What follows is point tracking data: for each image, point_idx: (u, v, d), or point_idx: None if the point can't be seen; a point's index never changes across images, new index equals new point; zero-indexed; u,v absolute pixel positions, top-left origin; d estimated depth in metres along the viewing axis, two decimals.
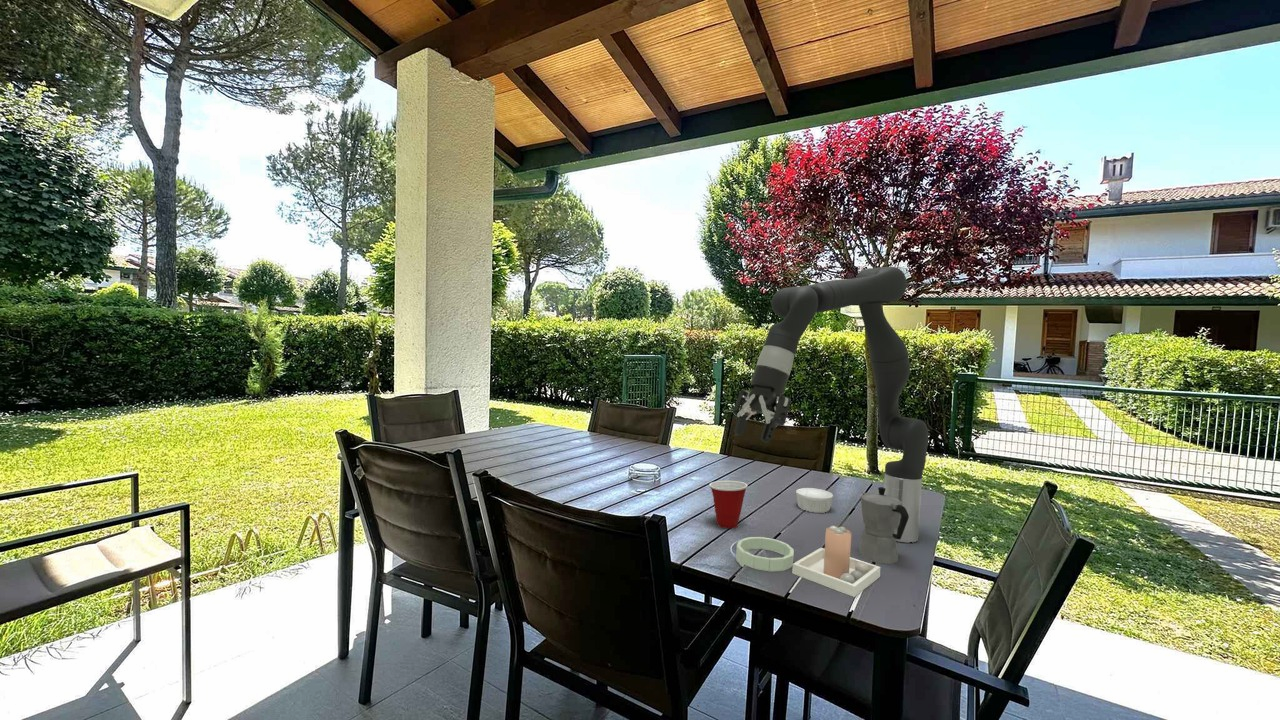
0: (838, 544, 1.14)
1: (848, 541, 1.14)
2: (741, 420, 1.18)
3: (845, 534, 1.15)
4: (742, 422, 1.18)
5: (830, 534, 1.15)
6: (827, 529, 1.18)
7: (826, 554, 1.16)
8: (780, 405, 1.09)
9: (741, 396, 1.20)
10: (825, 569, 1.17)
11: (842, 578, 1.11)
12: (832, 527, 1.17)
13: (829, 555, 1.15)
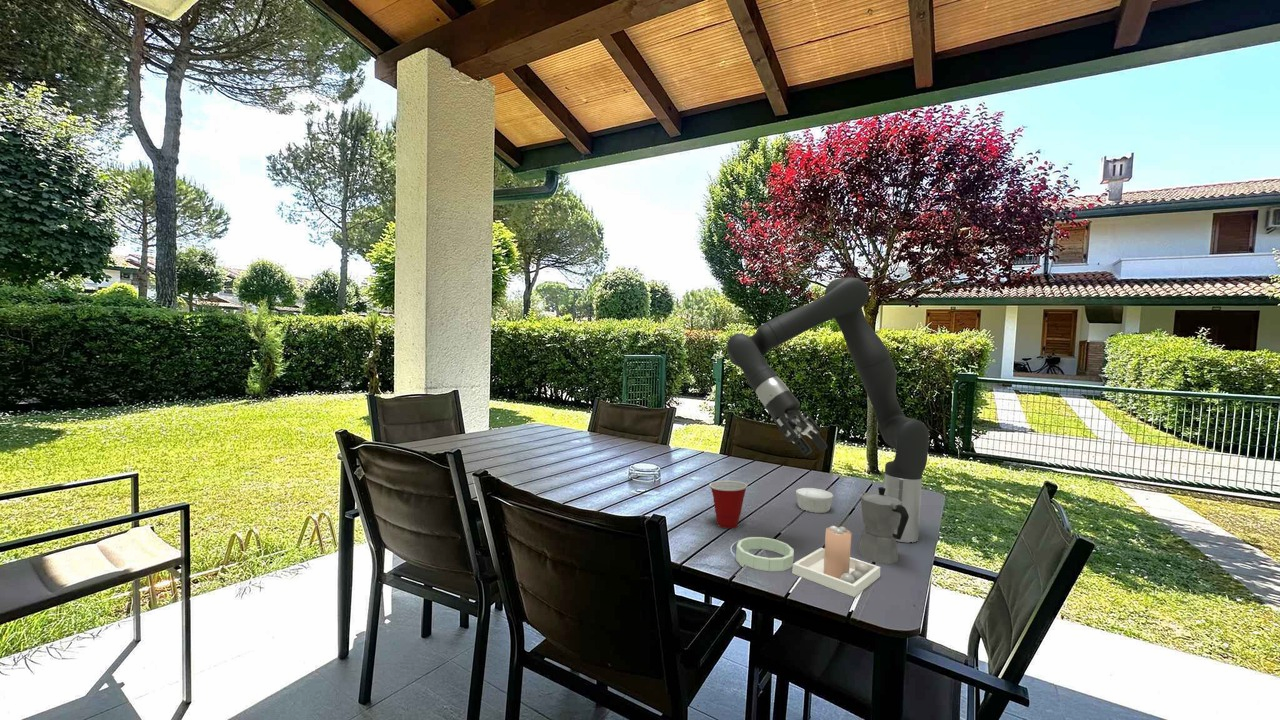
0: (838, 544, 1.14)
1: (848, 541, 1.14)
2: (813, 439, 1.30)
3: (845, 534, 1.15)
4: (816, 440, 1.30)
5: (830, 534, 1.15)
6: (827, 529, 1.18)
7: (826, 554, 1.16)
8: (779, 429, 1.25)
9: None
10: (825, 569, 1.17)
11: (842, 578, 1.11)
12: (832, 527, 1.17)
13: (829, 555, 1.15)
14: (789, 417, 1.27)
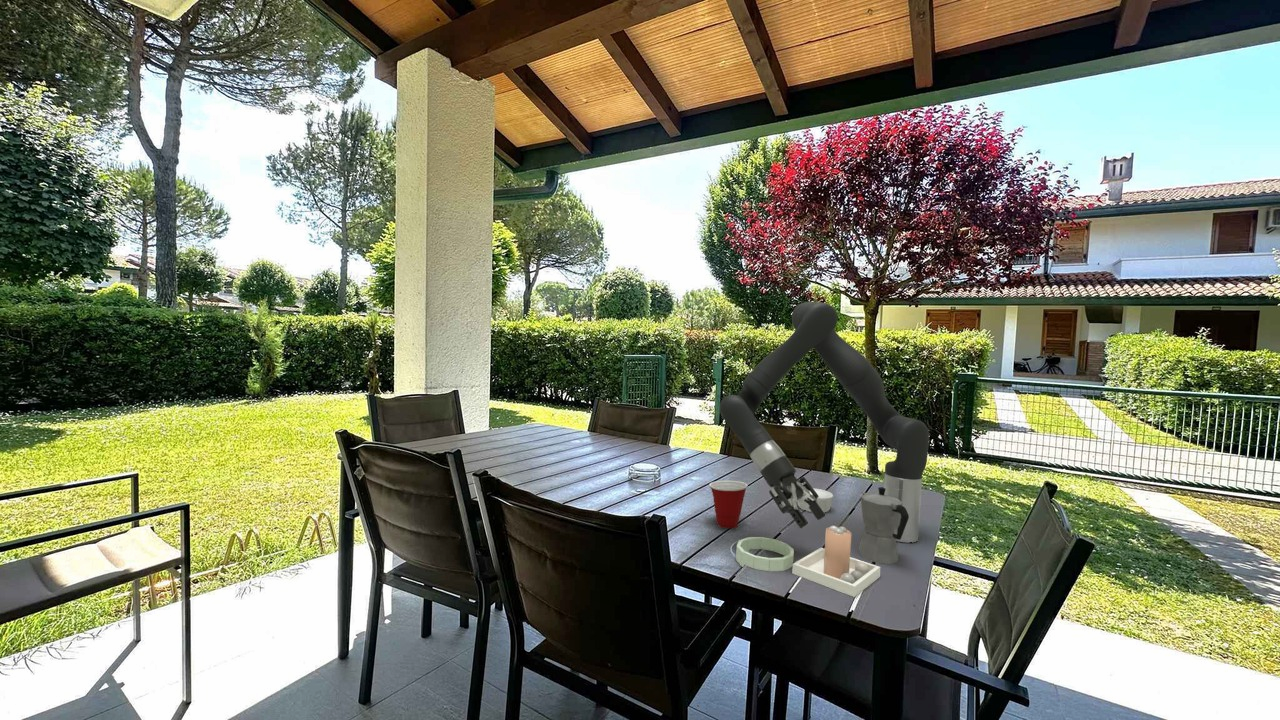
0: (838, 544, 1.14)
1: (848, 541, 1.14)
2: (810, 507, 1.26)
3: (845, 534, 1.15)
4: (813, 507, 1.25)
5: (830, 534, 1.15)
6: (827, 529, 1.18)
7: (826, 554, 1.16)
8: None
9: None
10: (825, 569, 1.17)
11: (842, 578, 1.11)
12: (832, 527, 1.17)
13: (829, 555, 1.15)
14: (784, 486, 1.23)
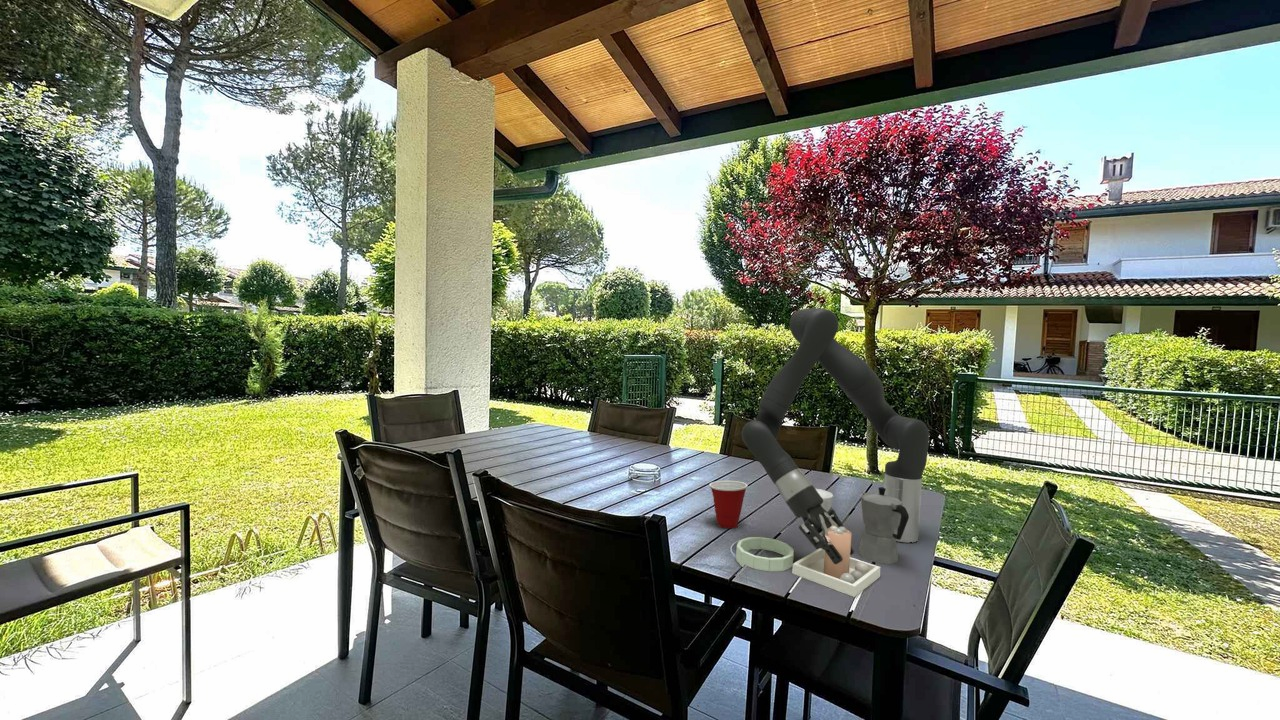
0: (838, 544, 1.14)
1: (848, 541, 1.14)
2: None
3: (845, 534, 1.15)
4: None
5: (830, 534, 1.15)
6: None
7: (826, 554, 1.16)
8: None
9: None
10: (825, 569, 1.17)
11: (842, 578, 1.11)
12: (832, 527, 1.17)
13: None
14: (812, 517, 1.18)
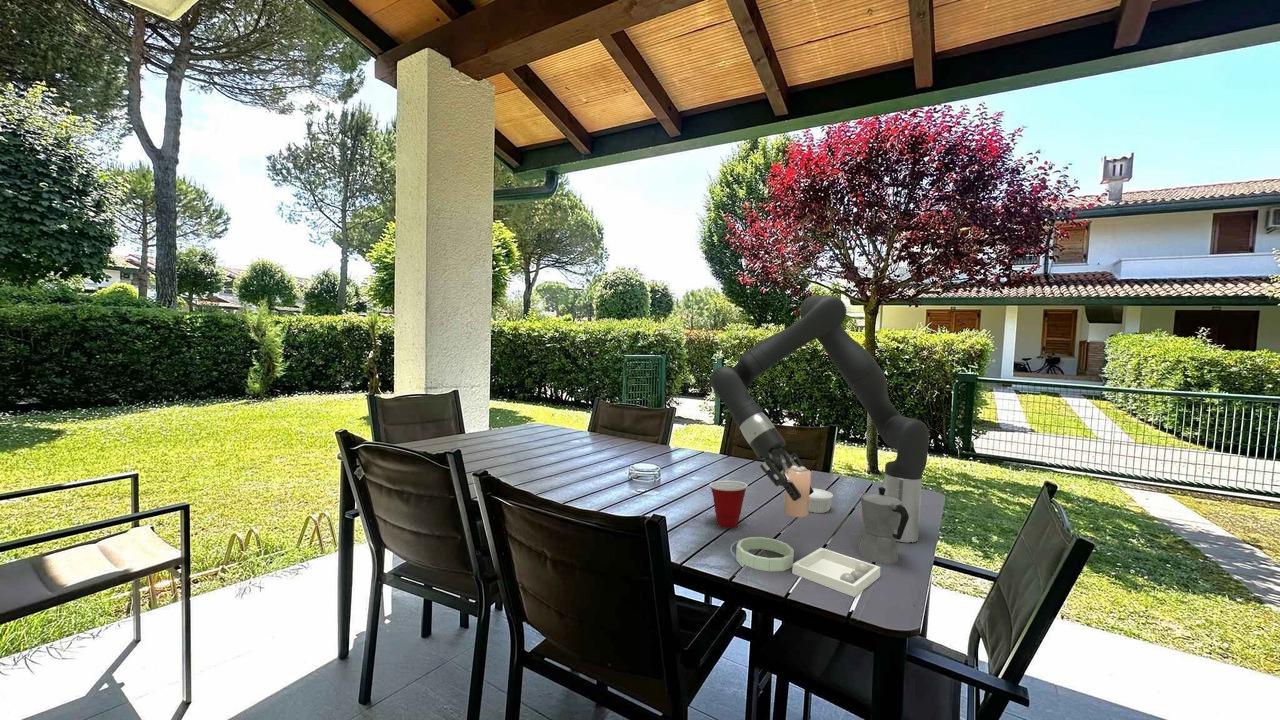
0: (797, 481, 1.18)
1: (807, 479, 1.18)
2: None
3: (804, 472, 1.18)
4: None
5: (790, 472, 1.19)
6: (788, 469, 1.21)
7: (786, 492, 1.20)
8: None
9: None
10: (785, 507, 1.20)
11: (842, 578, 1.11)
12: (793, 466, 1.20)
13: None
14: (773, 457, 1.21)
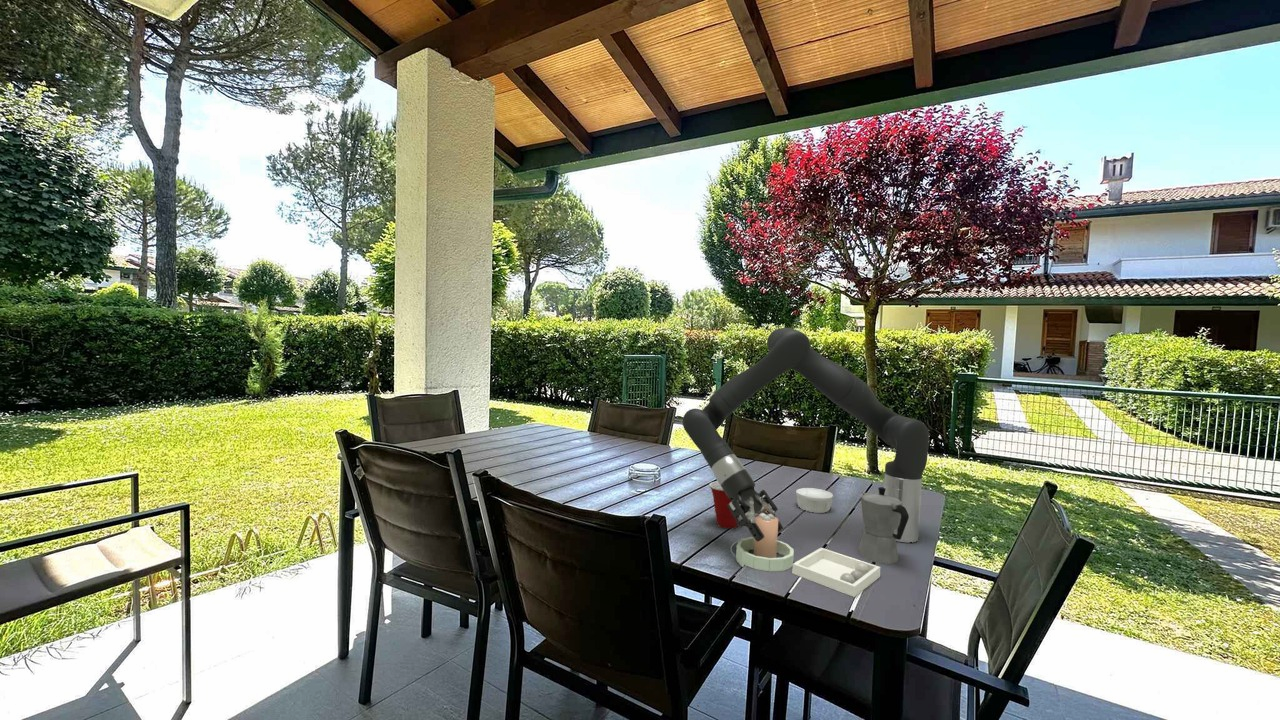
0: (765, 530, 1.22)
1: (774, 527, 1.22)
2: None
3: (772, 521, 1.22)
4: None
5: (758, 521, 1.23)
6: (756, 516, 1.25)
7: None
8: None
9: None
10: (754, 554, 1.24)
11: (842, 578, 1.11)
12: (761, 514, 1.25)
13: None
14: (742, 499, 1.25)
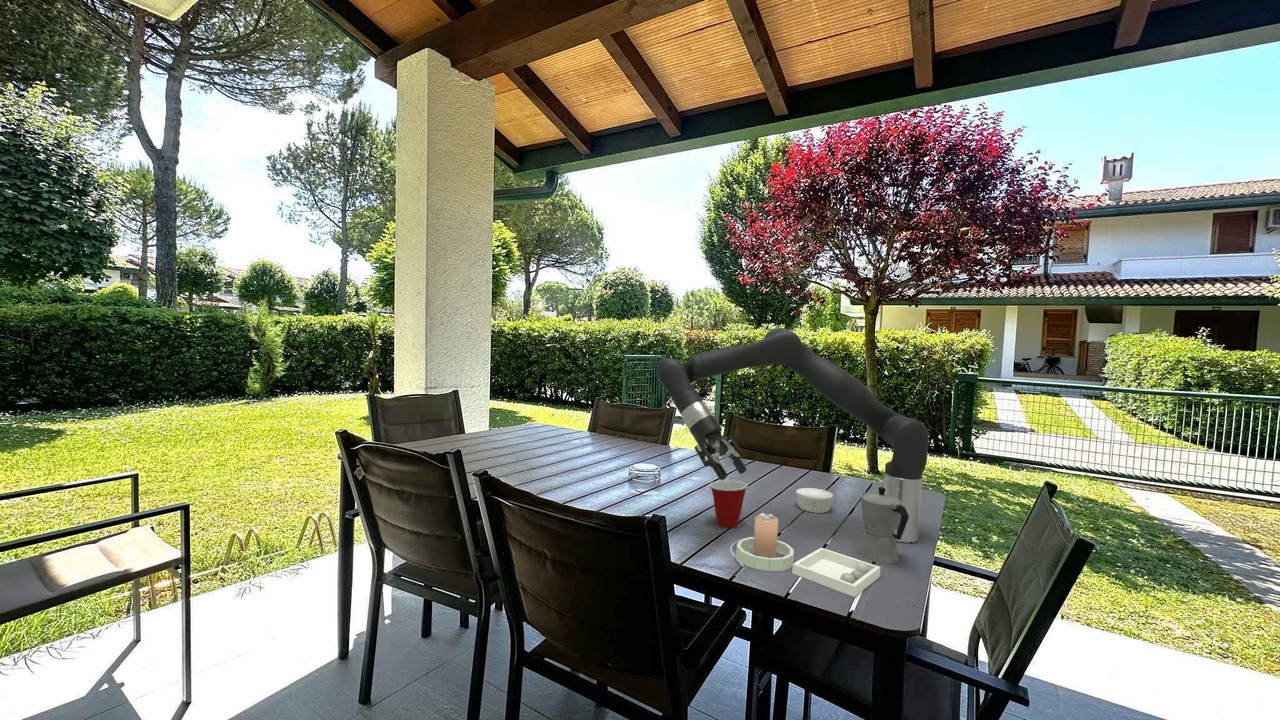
0: (765, 530, 1.22)
1: (774, 527, 1.22)
2: (734, 462, 1.36)
3: (772, 521, 1.22)
4: (736, 463, 1.35)
5: (758, 521, 1.23)
6: (756, 516, 1.25)
7: (755, 539, 1.24)
8: None
9: None
10: (754, 554, 1.24)
11: (842, 578, 1.11)
12: (761, 514, 1.25)
13: (757, 540, 1.23)
14: (709, 442, 1.32)
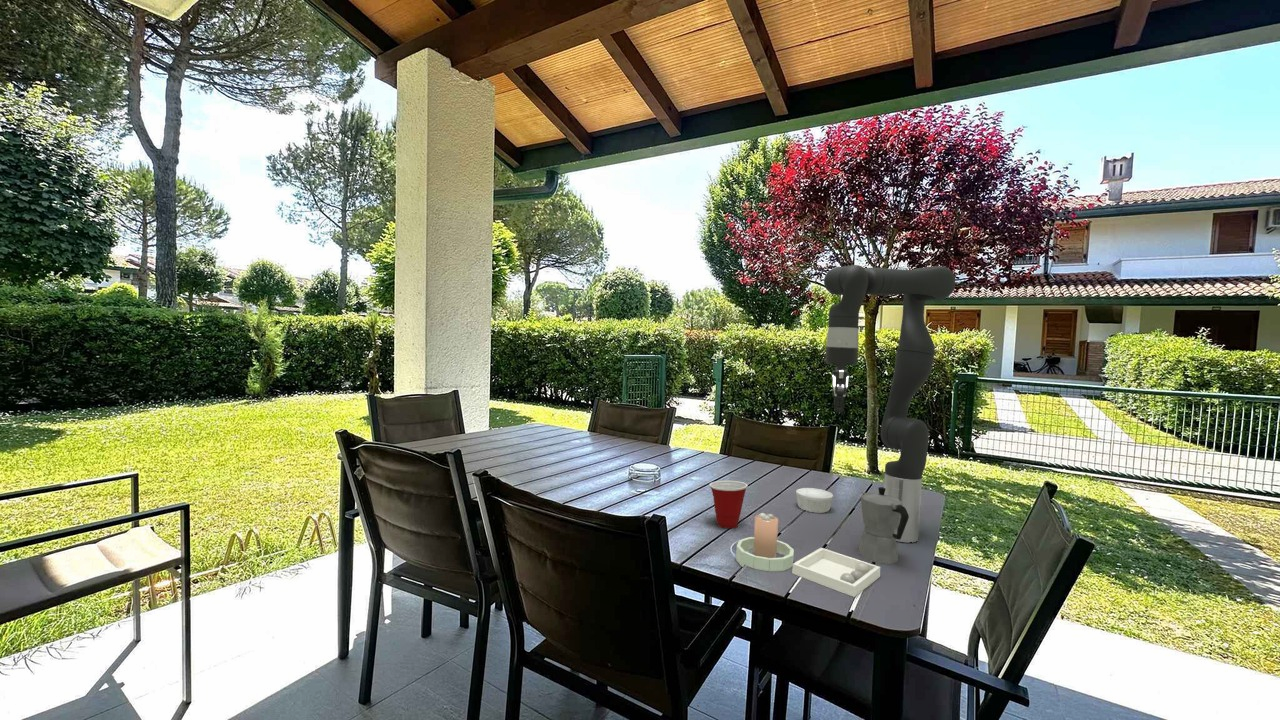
0: (765, 530, 1.22)
1: (774, 527, 1.22)
2: None
3: (772, 520, 1.22)
4: None
5: (758, 520, 1.23)
6: (756, 516, 1.25)
7: (755, 539, 1.24)
8: (835, 378, 1.26)
9: None
10: (754, 553, 1.24)
11: (842, 578, 1.11)
12: (761, 514, 1.25)
13: (757, 540, 1.23)
14: None
